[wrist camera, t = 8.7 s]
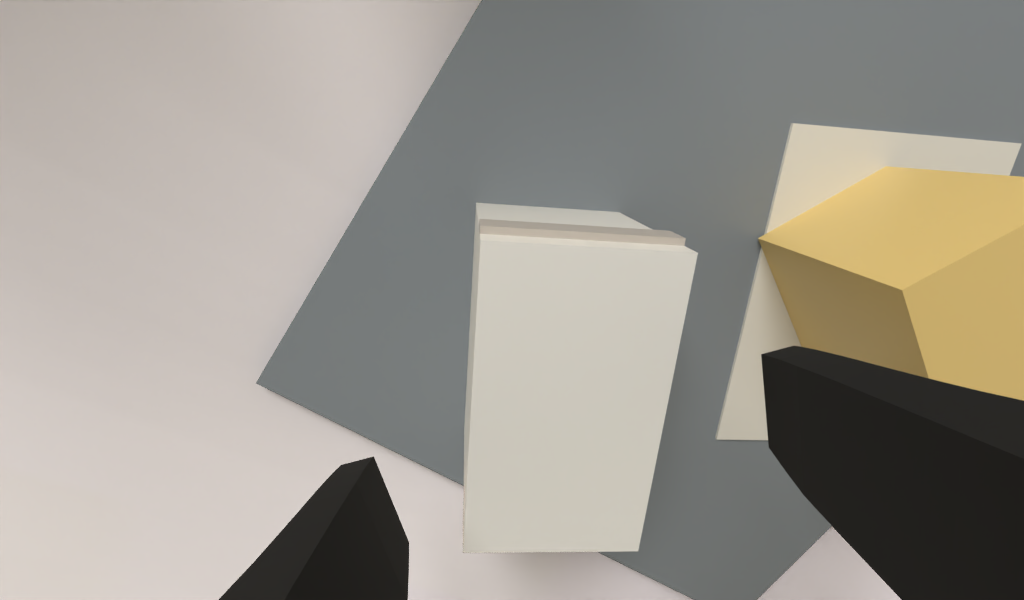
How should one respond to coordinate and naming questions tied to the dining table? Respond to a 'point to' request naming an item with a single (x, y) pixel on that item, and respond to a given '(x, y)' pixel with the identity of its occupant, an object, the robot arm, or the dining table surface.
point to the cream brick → (567, 376)
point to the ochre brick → (912, 275)
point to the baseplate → (651, 220)
